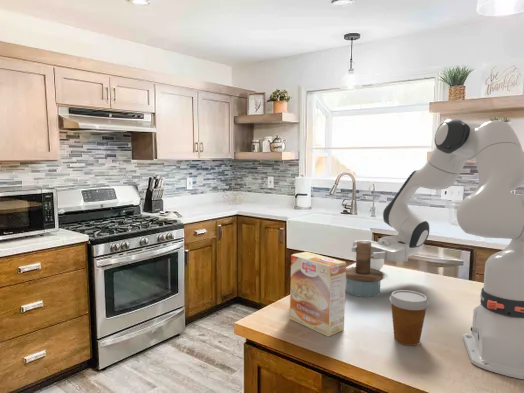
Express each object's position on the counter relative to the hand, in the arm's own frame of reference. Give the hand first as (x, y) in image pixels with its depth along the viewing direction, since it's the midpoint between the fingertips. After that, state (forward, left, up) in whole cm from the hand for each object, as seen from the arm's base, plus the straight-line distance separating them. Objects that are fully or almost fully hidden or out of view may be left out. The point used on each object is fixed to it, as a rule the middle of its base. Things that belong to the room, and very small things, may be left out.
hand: (362, 252), depth 137 cm
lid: (0, 0, -8) cm, 9 cm away
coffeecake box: (-35, +3, -14) cm, 38 cm away
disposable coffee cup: (-31, -21, -14) cm, 40 cm away
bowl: (0, 0, -14) cm, 14 cm away
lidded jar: (+27, +4, -14) cm, 31 cm away
